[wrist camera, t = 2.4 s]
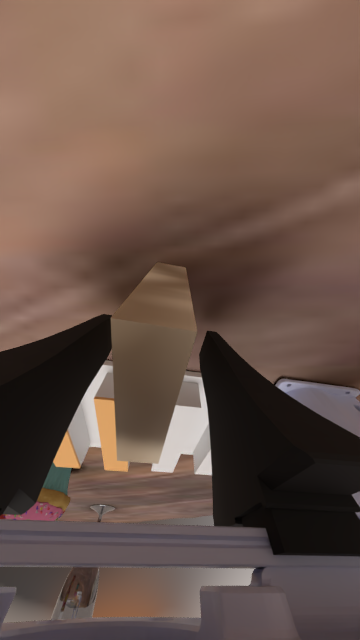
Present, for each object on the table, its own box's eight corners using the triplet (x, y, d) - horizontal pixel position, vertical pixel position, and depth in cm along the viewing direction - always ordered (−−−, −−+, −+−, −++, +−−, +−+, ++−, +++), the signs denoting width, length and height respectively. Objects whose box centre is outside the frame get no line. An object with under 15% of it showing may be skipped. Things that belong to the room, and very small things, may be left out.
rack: (255, 379, 16) (272, 411, 13) (209, 451, 25) (213, 479, 22) (42, 351, 14) (7, 381, 11) (72, 440, 23) (57, 469, 20)
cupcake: (37, 471, 29) (-41, 601, 19) (28, 453, 25) (-77, 606, 15) (83, 475, 31) (34, 600, 20) (82, 459, 27) (19, 604, 16)
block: (185, 267, 11) (197, 331, 4) (168, 353, 14) (158, 463, 7) (157, 261, 10) (110, 318, 3) (147, 350, 14) (116, 460, 7)
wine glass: (114, 512, 46) (88, 621, 33) (87, 509, 45) (49, 623, 32) (118, 505, 42) (91, 626, 29) (89, 503, 41) (47, 628, 28)
